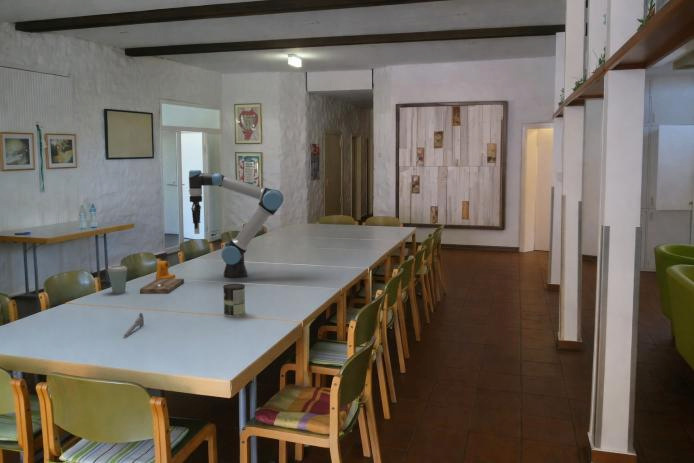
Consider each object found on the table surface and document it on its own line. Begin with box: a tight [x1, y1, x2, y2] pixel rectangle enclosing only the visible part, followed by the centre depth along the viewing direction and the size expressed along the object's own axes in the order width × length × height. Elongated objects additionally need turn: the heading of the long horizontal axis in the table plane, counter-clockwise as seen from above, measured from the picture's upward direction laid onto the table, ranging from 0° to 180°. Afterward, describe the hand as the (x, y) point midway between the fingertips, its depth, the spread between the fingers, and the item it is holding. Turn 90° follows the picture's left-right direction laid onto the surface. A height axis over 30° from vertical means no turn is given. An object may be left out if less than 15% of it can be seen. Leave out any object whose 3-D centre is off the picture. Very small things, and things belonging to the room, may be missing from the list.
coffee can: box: [222, 283, 246, 318], centre depth 290 cm, size 10×10×14 cm
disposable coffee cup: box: [107, 264, 128, 295], centre depth 339 cm, size 11×11×15 cm
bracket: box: [155, 260, 176, 280], centre depth 375 cm, size 11×7×12 cm, turn 162°
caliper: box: [122, 312, 145, 339], centre depth 262 cm, size 20×1×6 cm, turn 178°
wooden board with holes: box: [139, 278, 185, 295], centre depth 352 cm, size 16×30×2 cm, turn 179°
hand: (197, 233), depth 370 cm, fingers closed
